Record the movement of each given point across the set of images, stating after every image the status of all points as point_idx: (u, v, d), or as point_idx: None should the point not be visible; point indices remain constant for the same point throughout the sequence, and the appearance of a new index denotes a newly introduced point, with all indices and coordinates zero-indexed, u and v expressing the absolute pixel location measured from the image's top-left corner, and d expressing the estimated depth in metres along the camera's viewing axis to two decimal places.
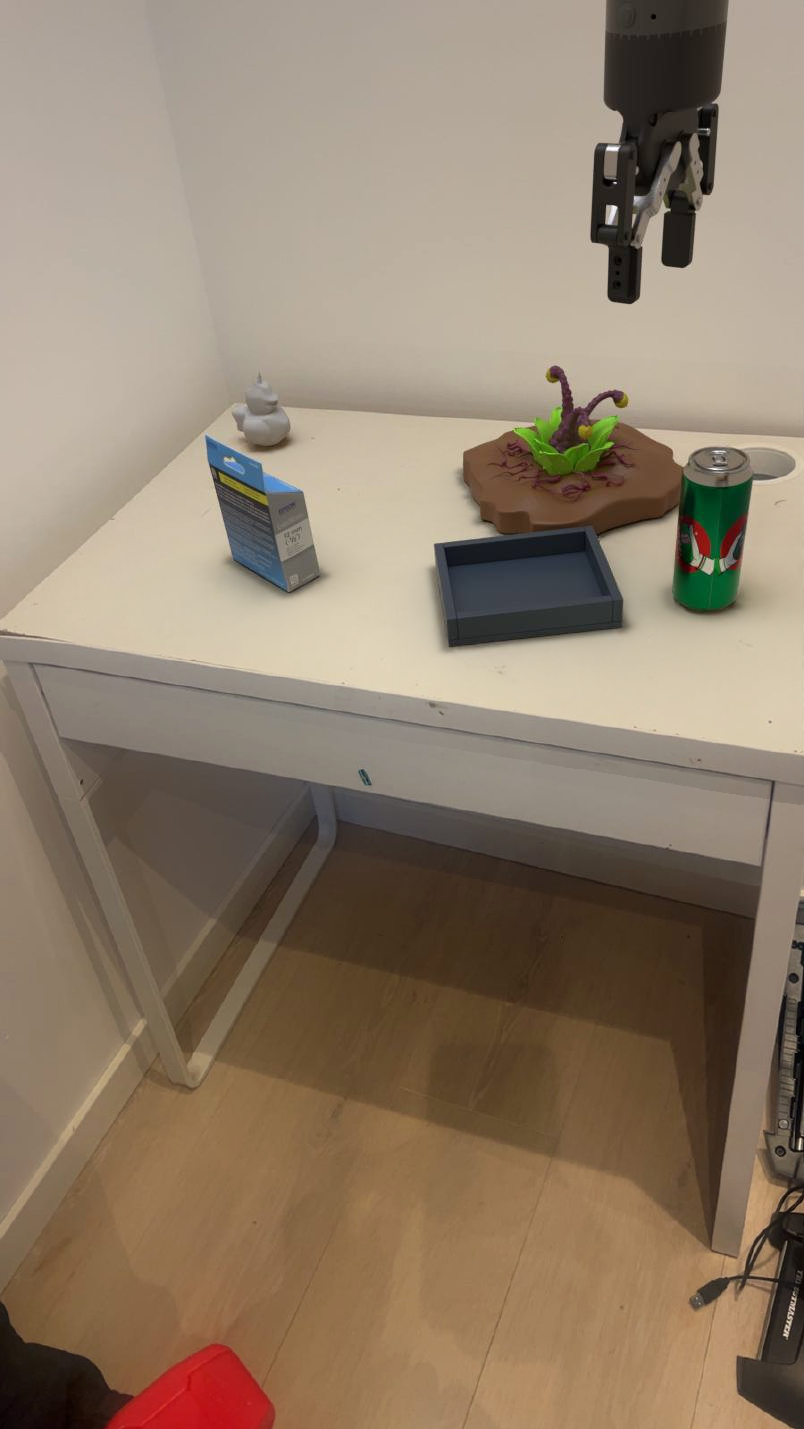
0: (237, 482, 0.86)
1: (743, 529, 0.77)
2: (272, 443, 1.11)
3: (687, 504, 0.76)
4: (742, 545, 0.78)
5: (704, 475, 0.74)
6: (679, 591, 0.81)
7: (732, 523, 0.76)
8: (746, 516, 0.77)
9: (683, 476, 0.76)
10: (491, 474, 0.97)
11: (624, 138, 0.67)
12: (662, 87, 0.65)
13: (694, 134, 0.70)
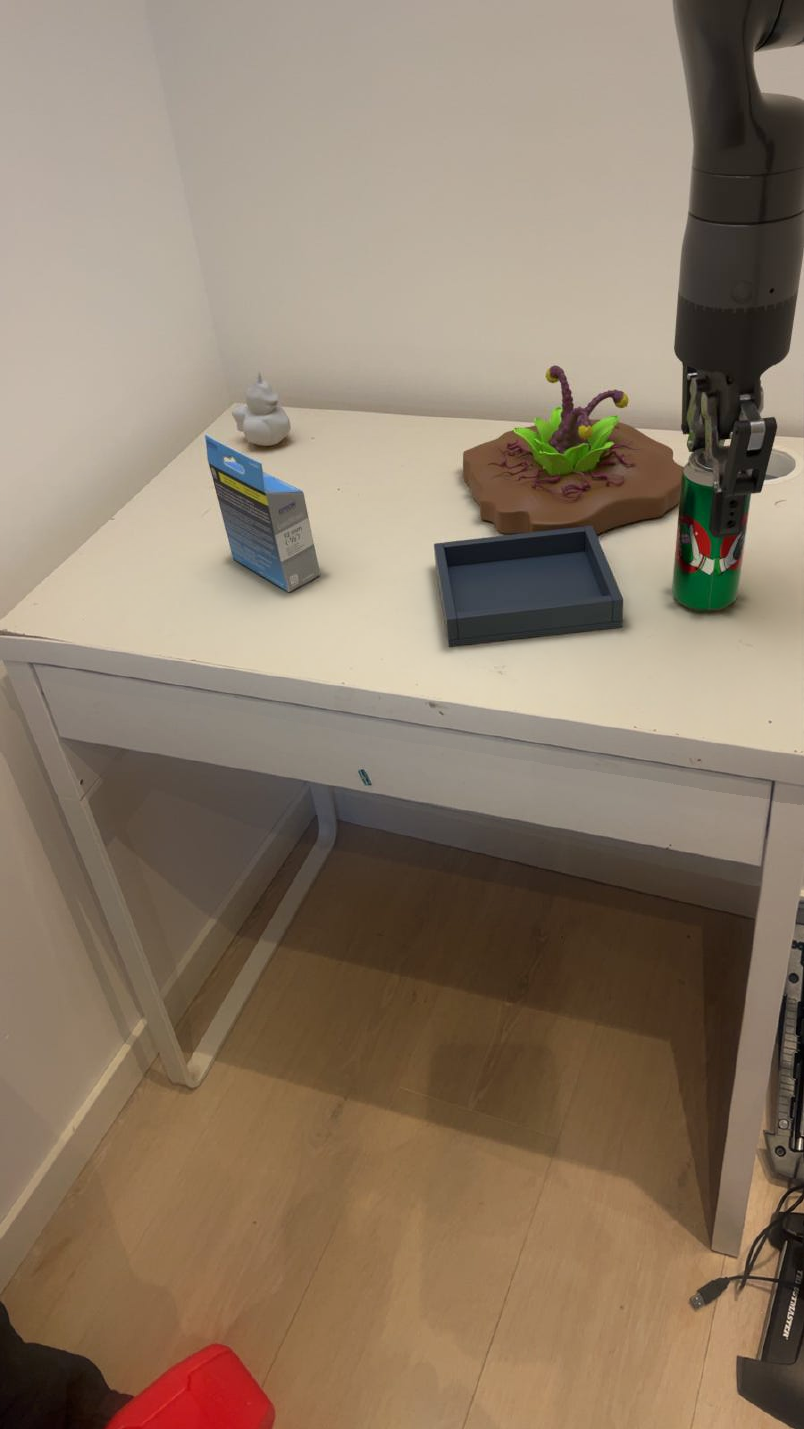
0: (237, 482, 0.86)
1: (743, 529, 0.77)
2: (272, 443, 1.11)
3: (687, 504, 0.76)
4: (742, 545, 0.78)
5: (704, 476, 0.74)
6: (679, 591, 0.81)
7: None
8: (746, 516, 0.77)
9: (683, 476, 0.76)
10: (491, 474, 0.97)
11: (739, 396, 0.68)
12: (773, 347, 0.67)
13: None
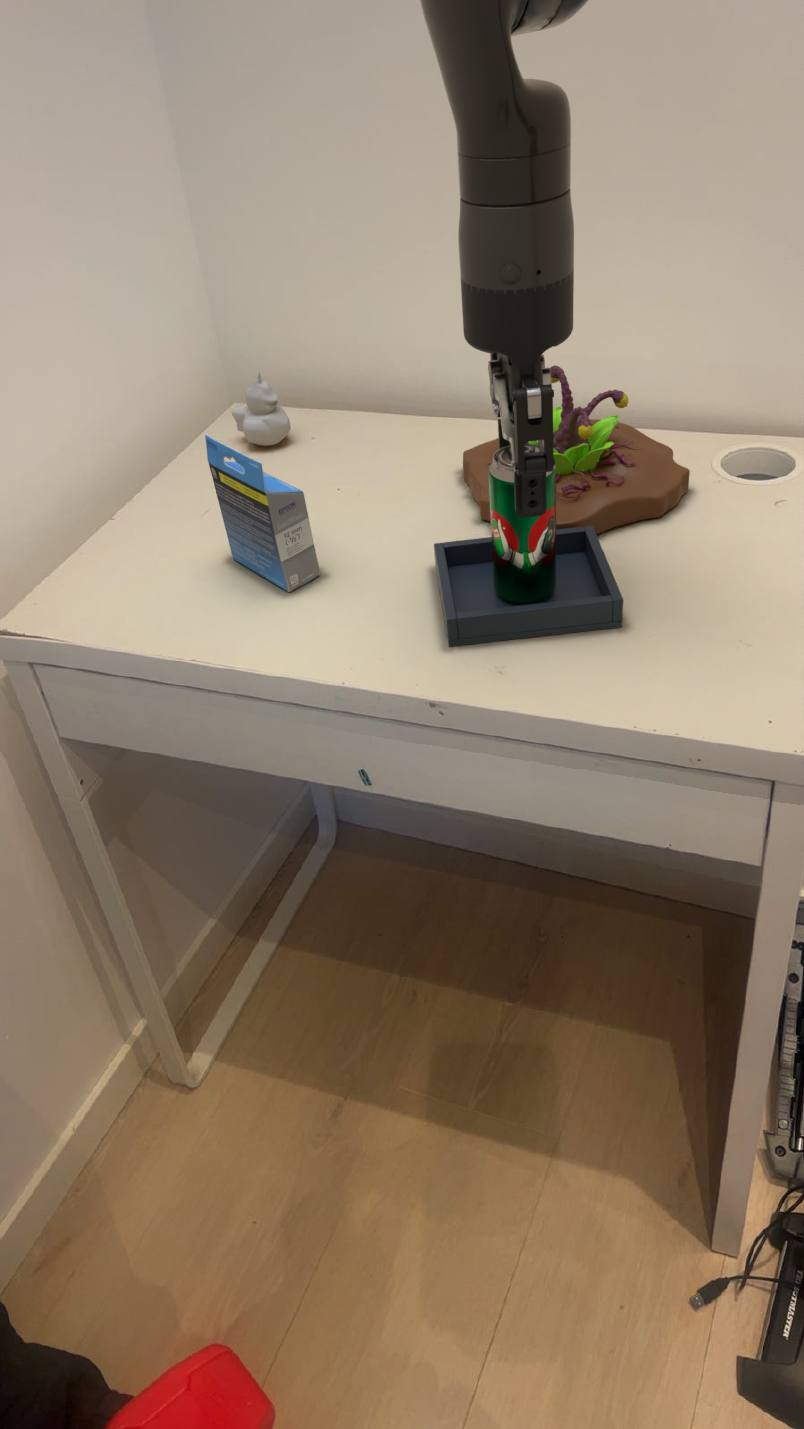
0: (237, 482, 0.86)
1: (550, 524, 0.79)
2: (272, 443, 1.11)
3: (493, 499, 0.78)
4: (551, 539, 0.80)
5: (504, 472, 0.76)
6: (497, 585, 0.83)
7: (536, 518, 0.78)
8: (551, 511, 0.79)
9: (488, 472, 0.78)
10: None
11: (519, 377, 0.69)
12: (549, 328, 0.68)
13: (543, 356, 0.74)
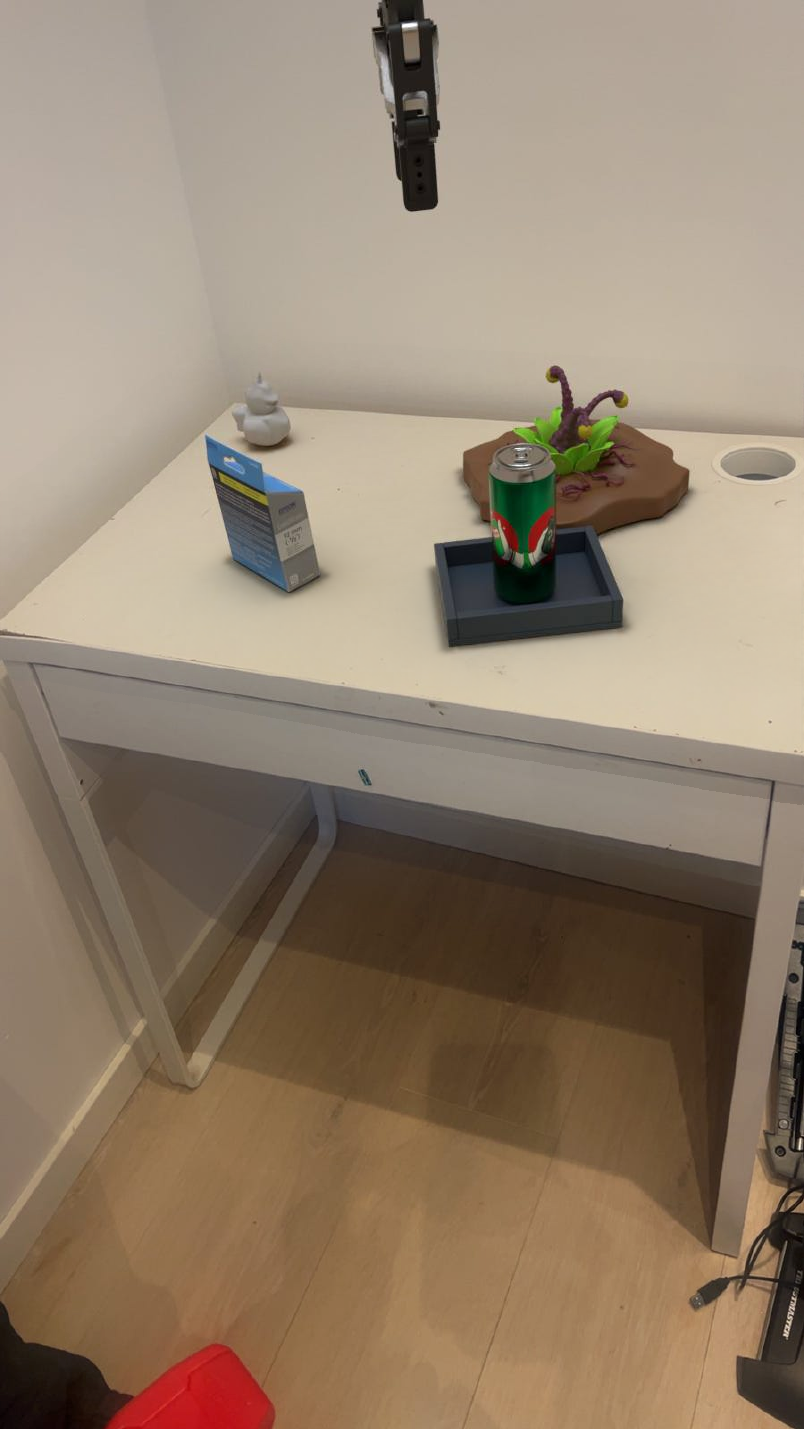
0: (237, 482, 0.86)
1: (550, 524, 0.79)
2: (272, 443, 1.11)
3: (494, 500, 0.78)
4: (551, 540, 0.80)
5: (505, 472, 0.76)
6: (497, 585, 0.83)
7: (536, 518, 0.78)
8: (552, 511, 0.79)
9: (489, 472, 0.78)
10: None
11: (397, 21, 0.61)
12: None
13: (433, 21, 0.65)
